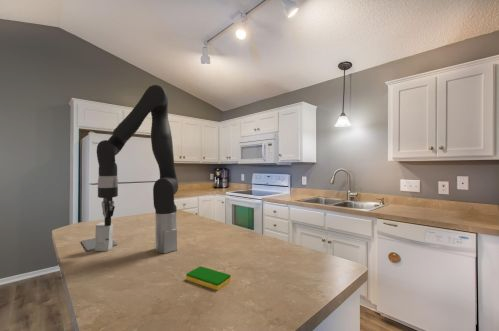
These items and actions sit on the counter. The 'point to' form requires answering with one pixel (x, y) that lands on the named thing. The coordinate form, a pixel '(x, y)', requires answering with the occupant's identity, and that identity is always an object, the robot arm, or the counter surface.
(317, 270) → the counter surface
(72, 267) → the counter surface
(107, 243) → the skincare box
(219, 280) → the dish sponge
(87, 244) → the mat
